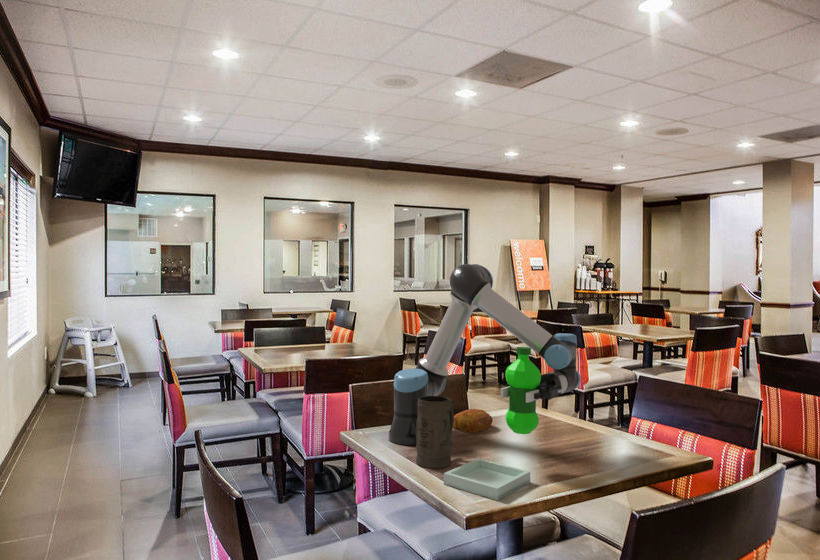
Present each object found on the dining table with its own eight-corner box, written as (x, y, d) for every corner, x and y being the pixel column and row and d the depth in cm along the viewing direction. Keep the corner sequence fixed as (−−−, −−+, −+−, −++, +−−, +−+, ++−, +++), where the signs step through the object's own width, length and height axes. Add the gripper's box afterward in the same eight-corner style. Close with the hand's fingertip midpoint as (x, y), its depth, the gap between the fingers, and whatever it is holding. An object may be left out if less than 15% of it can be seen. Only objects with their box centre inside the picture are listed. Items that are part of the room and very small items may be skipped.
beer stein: (440, 471, 166) (443, 401, 167) (408, 465, 171) (411, 397, 172) (462, 460, 179) (464, 396, 180) (431, 454, 185) (434, 392, 186)
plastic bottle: (498, 427, 174) (500, 345, 174) (530, 426, 177) (532, 345, 176) (511, 437, 165) (513, 350, 164) (545, 435, 167) (547, 349, 167)
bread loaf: (498, 433, 215) (500, 411, 216) (474, 436, 203) (477, 413, 204) (466, 425, 225) (469, 404, 225) (442, 427, 213) (445, 405, 214)
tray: (443, 484, 156) (443, 473, 156) (478, 468, 169) (478, 458, 169) (497, 500, 145) (497, 488, 145) (530, 482, 158) (530, 471, 158)
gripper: (580, 401, 177) (546, 414, 160) (522, 391, 191) (484, 402, 173) (581, 377, 177) (546, 387, 160) (522, 369, 191) (484, 377, 173)
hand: (514, 395), depth 167 cm, fingers closed on plastic bottle, 8 cm apart
